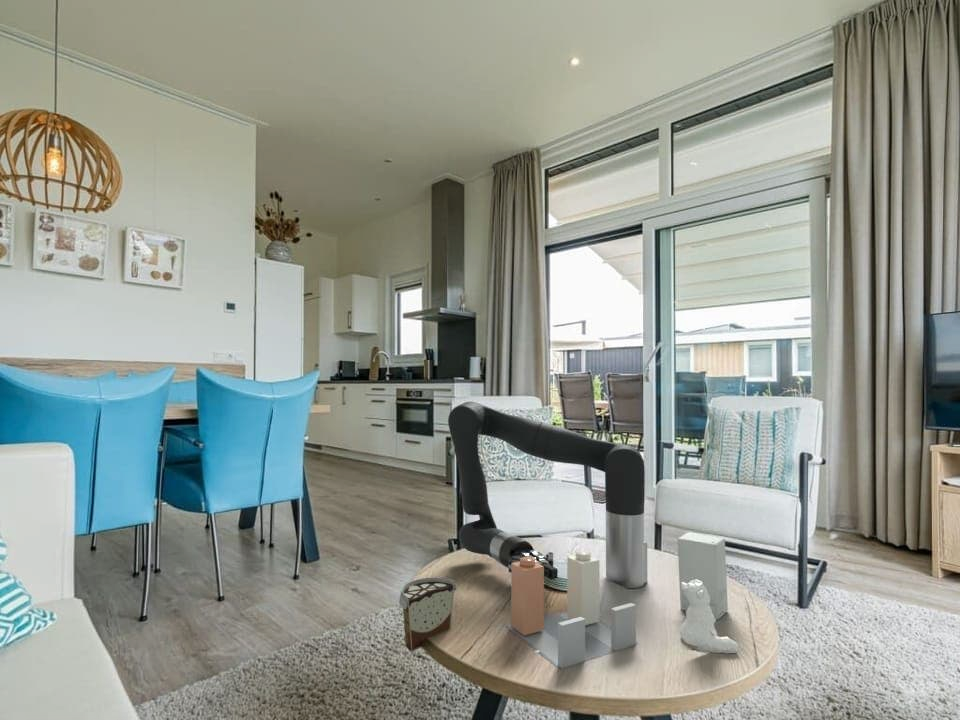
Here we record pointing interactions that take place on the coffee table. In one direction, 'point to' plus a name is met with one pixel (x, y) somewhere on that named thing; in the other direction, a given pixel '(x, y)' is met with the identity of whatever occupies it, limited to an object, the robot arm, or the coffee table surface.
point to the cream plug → (583, 587)
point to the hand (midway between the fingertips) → (554, 574)
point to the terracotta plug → (527, 596)
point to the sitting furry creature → (702, 622)
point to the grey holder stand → (582, 637)
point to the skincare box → (704, 569)
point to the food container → (426, 608)
